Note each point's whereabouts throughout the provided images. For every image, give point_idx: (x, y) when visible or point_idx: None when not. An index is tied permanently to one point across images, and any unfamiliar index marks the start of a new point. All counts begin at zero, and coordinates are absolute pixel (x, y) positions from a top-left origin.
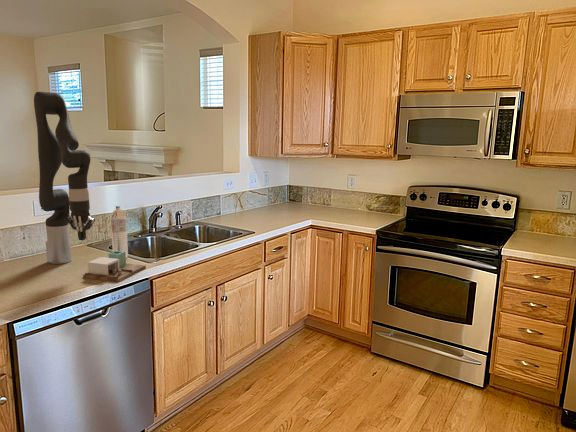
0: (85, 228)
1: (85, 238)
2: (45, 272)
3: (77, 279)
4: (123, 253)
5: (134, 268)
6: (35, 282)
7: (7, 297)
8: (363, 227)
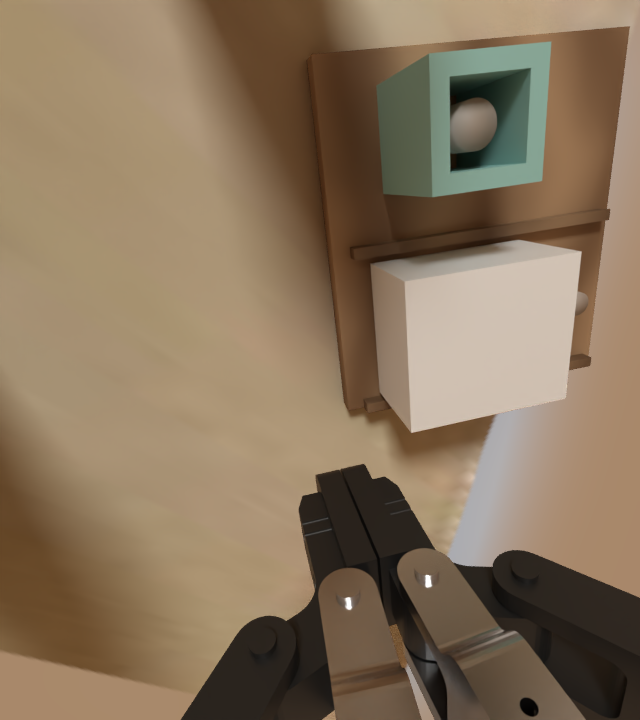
0: (545, 662)
1: (384, 481)
2: (21, 460)
3: (338, 436)
4: (540, 85)
5: (581, 139)
6: (171, 573)
7: None
8: None
